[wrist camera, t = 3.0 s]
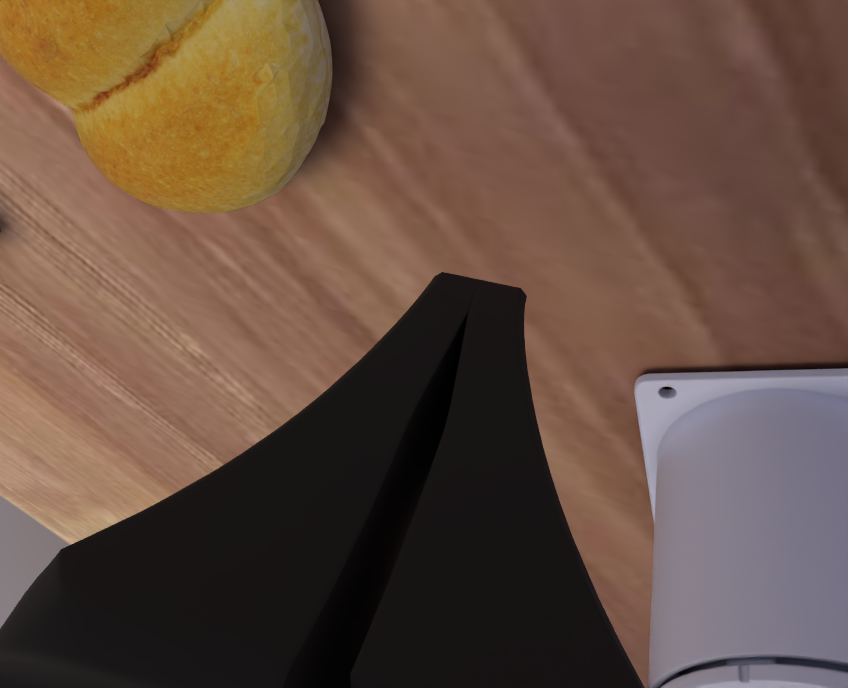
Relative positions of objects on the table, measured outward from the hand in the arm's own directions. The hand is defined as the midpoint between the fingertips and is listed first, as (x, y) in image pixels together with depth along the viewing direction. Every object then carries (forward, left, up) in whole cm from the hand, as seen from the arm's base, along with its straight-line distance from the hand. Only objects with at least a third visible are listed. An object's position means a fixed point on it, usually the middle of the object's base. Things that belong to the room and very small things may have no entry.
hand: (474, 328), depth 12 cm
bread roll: (+9, -3, -9) cm, 13 cm away
